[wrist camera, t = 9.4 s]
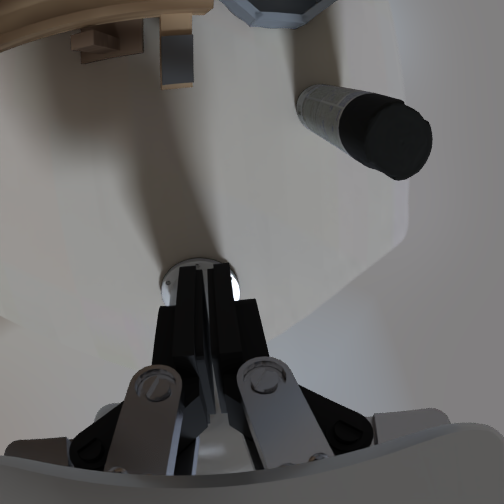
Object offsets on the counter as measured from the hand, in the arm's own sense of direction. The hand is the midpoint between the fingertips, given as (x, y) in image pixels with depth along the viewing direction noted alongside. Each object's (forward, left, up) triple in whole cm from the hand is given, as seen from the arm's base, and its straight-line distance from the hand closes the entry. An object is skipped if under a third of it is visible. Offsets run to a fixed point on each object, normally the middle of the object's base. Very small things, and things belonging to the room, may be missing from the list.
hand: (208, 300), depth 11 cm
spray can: (+3, -15, -32) cm, 35 cm away
